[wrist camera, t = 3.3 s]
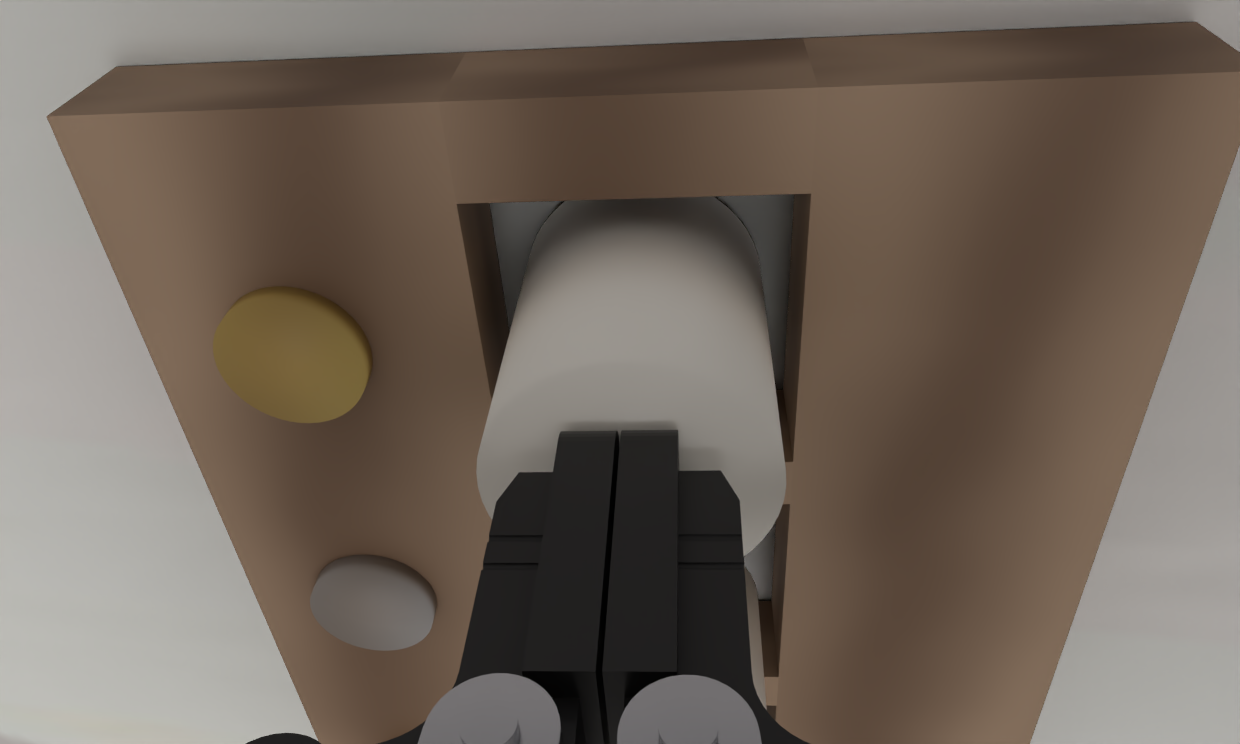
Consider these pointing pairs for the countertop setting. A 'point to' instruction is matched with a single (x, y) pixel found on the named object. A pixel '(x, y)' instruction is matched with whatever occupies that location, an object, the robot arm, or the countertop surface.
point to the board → (815, 339)
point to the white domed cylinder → (642, 347)
